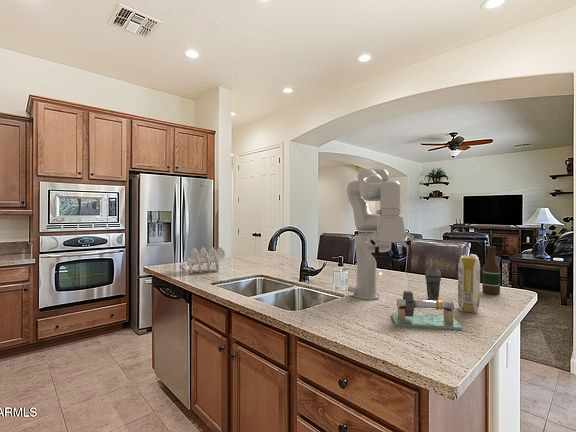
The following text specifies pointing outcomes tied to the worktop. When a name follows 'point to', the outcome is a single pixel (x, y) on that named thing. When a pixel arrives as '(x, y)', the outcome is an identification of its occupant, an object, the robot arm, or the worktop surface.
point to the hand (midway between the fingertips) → (390, 257)
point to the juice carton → (469, 283)
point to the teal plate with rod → (427, 320)
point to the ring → (409, 303)
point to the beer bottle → (491, 273)
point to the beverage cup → (433, 282)
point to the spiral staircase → (206, 258)
